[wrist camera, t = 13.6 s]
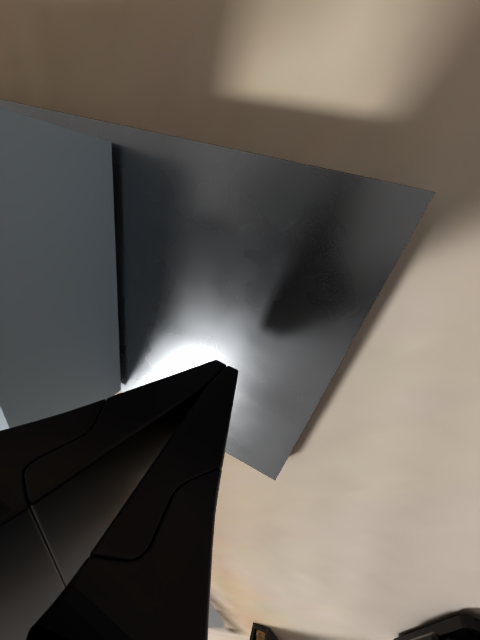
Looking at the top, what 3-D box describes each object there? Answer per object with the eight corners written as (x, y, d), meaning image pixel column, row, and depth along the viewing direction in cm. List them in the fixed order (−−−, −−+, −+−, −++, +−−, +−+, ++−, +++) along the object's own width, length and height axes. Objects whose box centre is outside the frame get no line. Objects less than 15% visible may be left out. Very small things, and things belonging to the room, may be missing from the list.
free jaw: (111, 141, 7) (-139, 65, 4) (121, 389, 13) (24, 464, 9) (65, 131, 8) (-197, 53, 4) (93, 373, 13) (-10, 438, 9)
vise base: (422, 194, 6) (686, 128, 1) (280, 461, 12) (236, 622, 7) (-23, 97, 10) (-322, 3, 6) (33, 325, 16) (-93, 371, 11)
